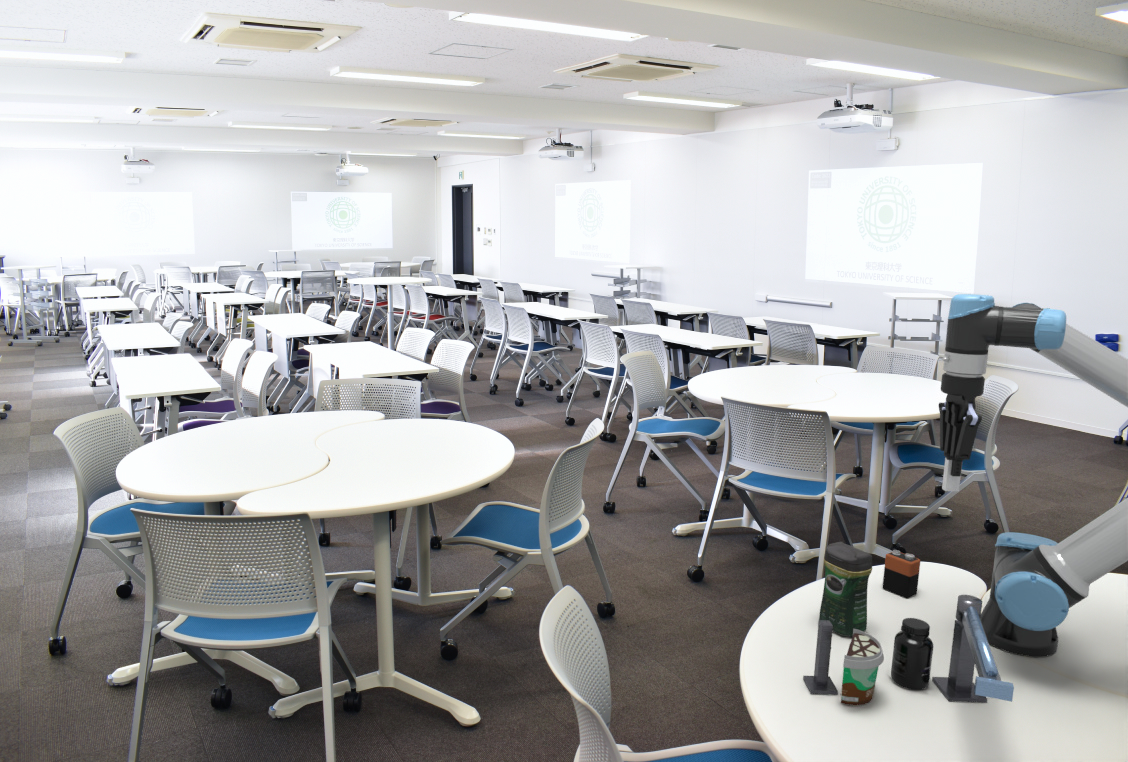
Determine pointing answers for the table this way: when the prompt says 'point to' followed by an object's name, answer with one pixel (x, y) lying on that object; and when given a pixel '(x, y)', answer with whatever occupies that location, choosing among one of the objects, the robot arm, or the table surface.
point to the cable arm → (981, 651)
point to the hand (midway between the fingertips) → (950, 489)
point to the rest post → (822, 663)
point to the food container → (861, 669)
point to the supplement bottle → (912, 655)
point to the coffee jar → (845, 588)
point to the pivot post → (959, 671)
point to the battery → (901, 574)
